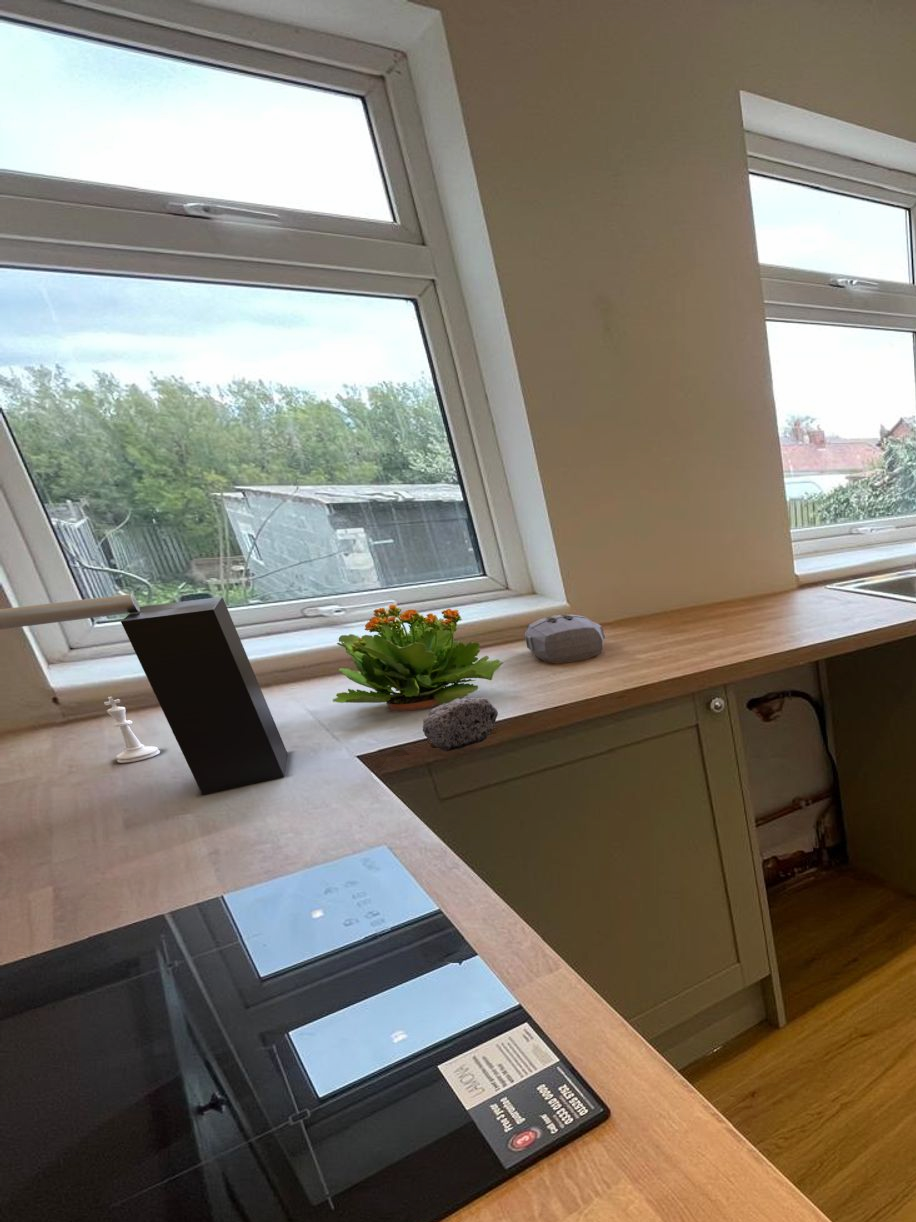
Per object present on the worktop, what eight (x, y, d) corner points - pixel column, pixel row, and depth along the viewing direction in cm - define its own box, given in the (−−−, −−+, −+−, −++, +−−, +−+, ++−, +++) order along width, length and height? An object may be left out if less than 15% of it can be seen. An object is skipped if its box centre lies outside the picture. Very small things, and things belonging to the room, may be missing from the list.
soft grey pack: (616, 654, 175) (590, 637, 189) (607, 615, 171) (582, 602, 186) (539, 669, 166) (519, 651, 180) (528, 629, 163) (508, 614, 177)
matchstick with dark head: (-61, 642, 98) (-76, 616, 97) (-52, 637, 100) (-66, 612, 99) (139, 616, 108) (128, 592, 106) (143, 612, 110) (132, 589, 109)
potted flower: (369, 736, 133) (330, 632, 126) (307, 715, 144) (269, 618, 138) (519, 692, 152) (493, 599, 145) (454, 676, 164) (427, 590, 157)
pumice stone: (434, 754, 131) (429, 756, 122) (418, 707, 129) (411, 706, 121) (506, 736, 136) (506, 738, 127) (491, 692, 134) (490, 690, 126)
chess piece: (164, 753, 129) (136, 694, 125) (122, 765, 125) (91, 704, 121) (155, 748, 132) (126, 690, 128) (113, 759, 128) (82, 699, 124)
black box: (202, 795, 113) (120, 621, 104) (211, 769, 122) (137, 607, 113) (284, 776, 118) (213, 609, 109) (287, 753, 127) (222, 596, 118)
